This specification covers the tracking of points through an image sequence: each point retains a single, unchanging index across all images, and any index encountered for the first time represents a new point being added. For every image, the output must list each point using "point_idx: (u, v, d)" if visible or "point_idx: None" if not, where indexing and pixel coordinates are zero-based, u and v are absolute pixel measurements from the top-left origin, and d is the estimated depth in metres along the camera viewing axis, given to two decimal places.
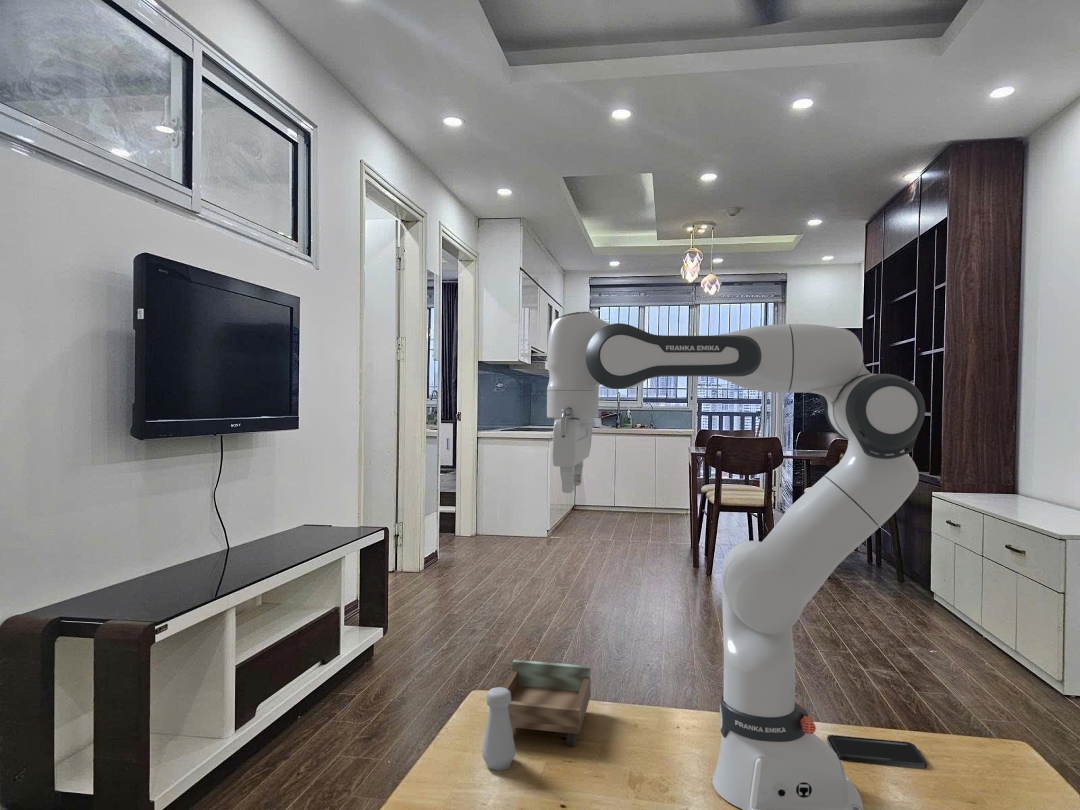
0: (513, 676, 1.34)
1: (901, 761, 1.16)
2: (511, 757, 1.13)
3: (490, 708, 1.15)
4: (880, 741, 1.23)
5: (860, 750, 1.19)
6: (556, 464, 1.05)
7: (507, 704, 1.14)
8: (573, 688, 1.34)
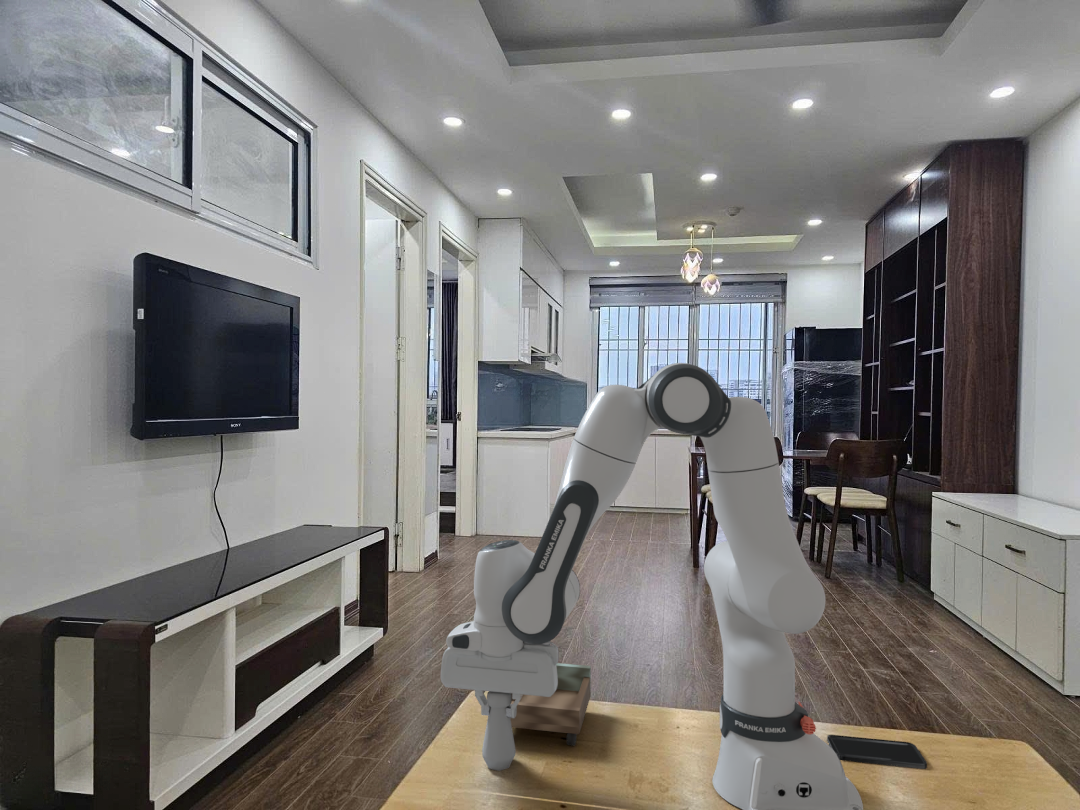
0: None
1: (901, 761, 1.16)
2: (511, 757, 1.13)
3: (490, 708, 1.14)
4: (880, 741, 1.23)
5: (860, 750, 1.19)
6: (552, 694, 1.12)
7: (507, 704, 1.14)
8: (573, 688, 1.34)
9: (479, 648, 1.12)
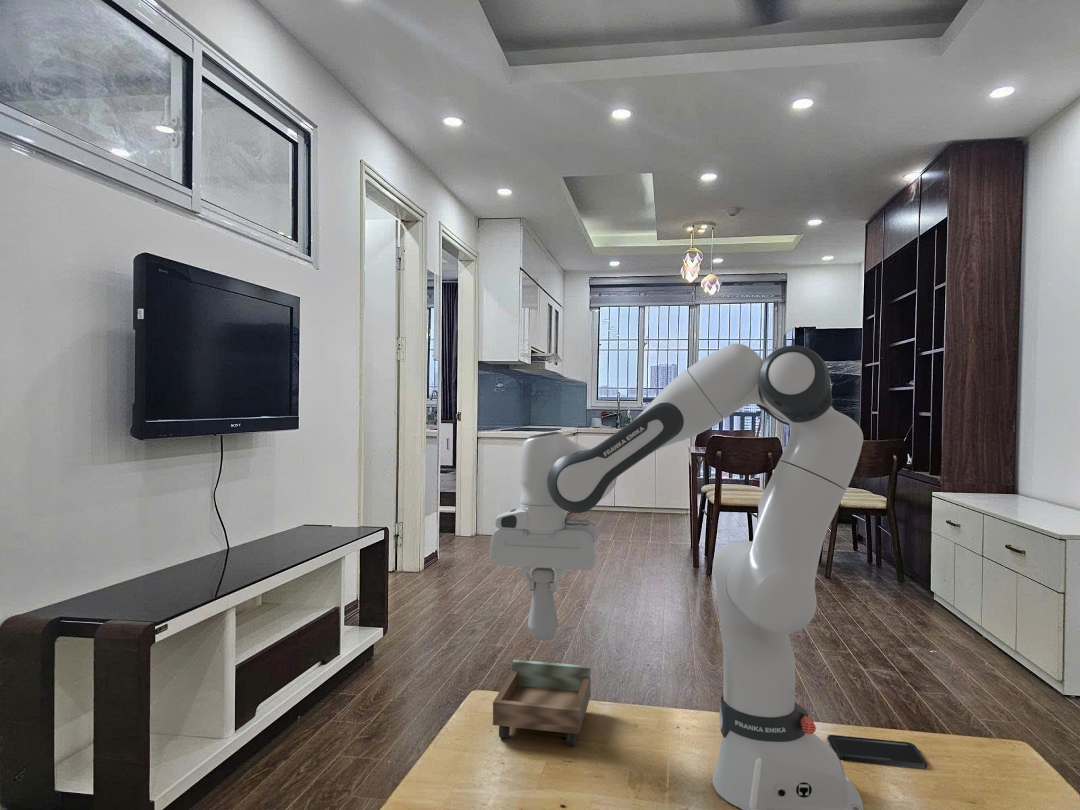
0: (513, 676, 1.34)
1: (901, 761, 1.16)
2: (555, 627, 1.25)
3: (535, 584, 1.26)
4: (880, 741, 1.23)
5: (860, 750, 1.19)
6: (592, 568, 1.24)
7: (551, 579, 1.25)
8: (573, 688, 1.34)
9: (526, 526, 1.23)
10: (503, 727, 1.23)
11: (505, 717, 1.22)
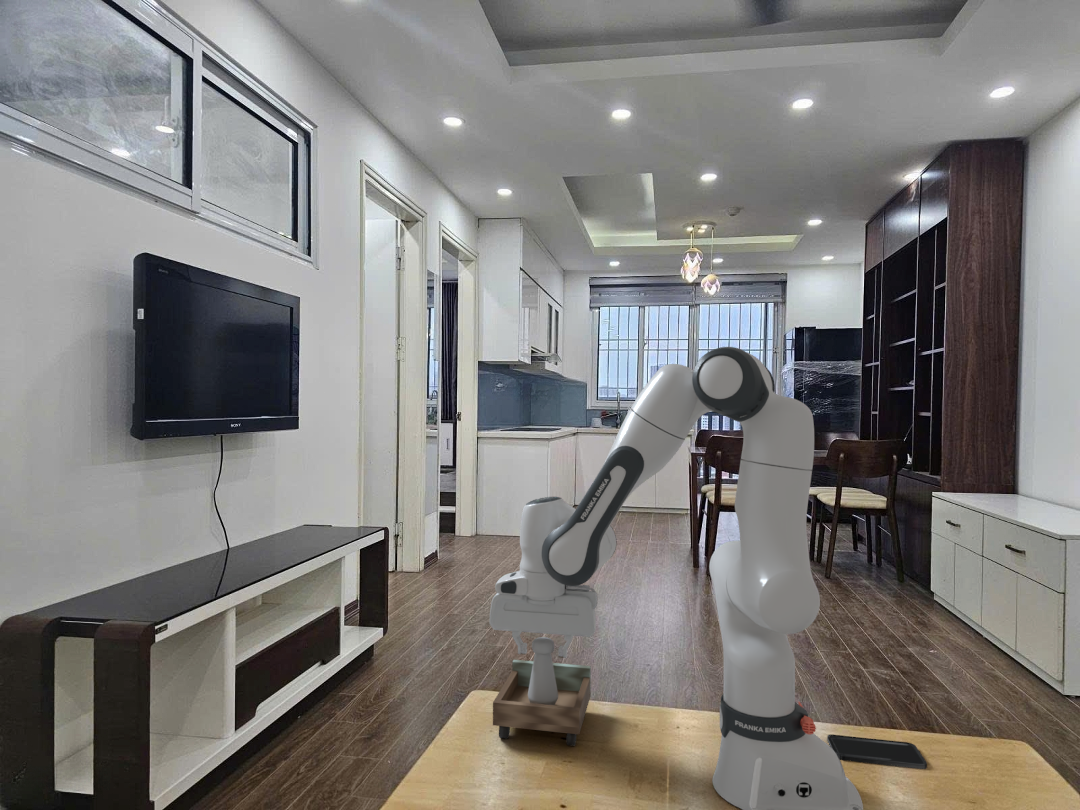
0: (513, 676, 1.34)
1: (901, 761, 1.16)
2: (555, 699, 1.25)
3: (535, 655, 1.26)
4: (880, 741, 1.23)
5: (860, 750, 1.19)
6: (592, 634, 1.24)
7: (551, 651, 1.26)
8: (573, 688, 1.34)
9: (526, 593, 1.23)
10: (503, 727, 1.23)
11: (505, 718, 1.22)
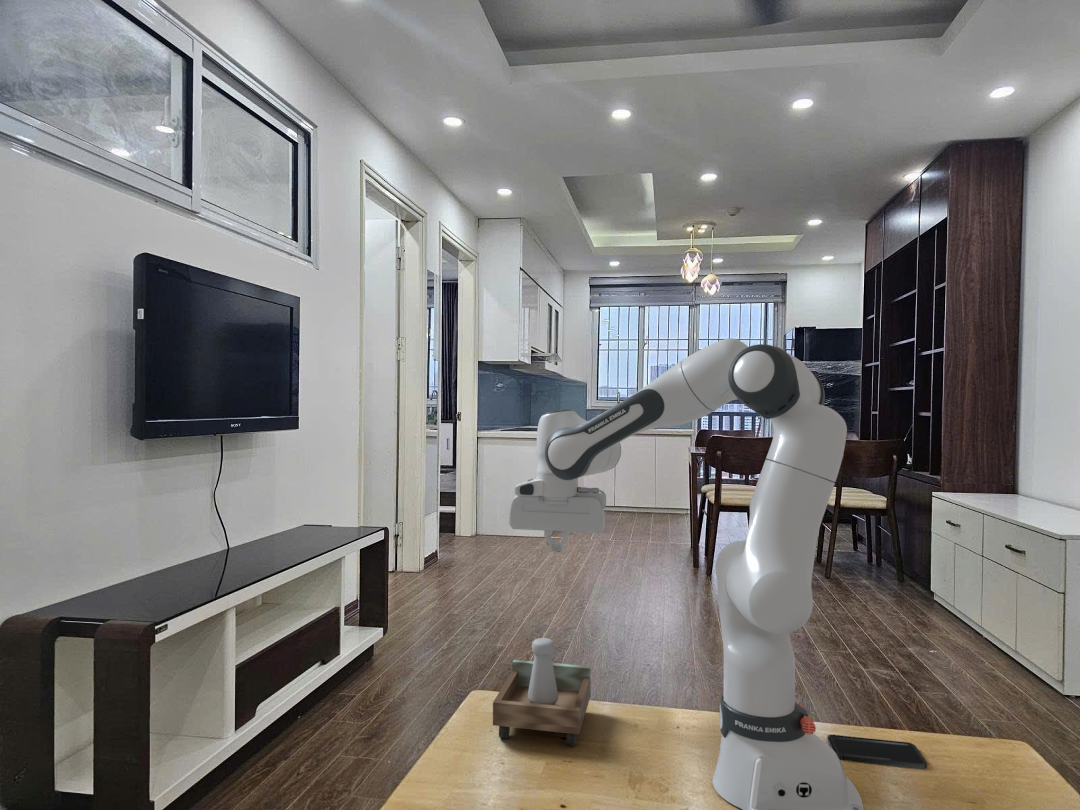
0: (513, 676, 1.34)
1: (901, 761, 1.16)
2: (555, 700, 1.25)
3: (535, 656, 1.26)
4: (880, 741, 1.23)
5: (860, 750, 1.19)
6: (601, 531, 1.38)
7: (551, 652, 1.25)
8: (573, 688, 1.34)
9: (542, 493, 1.38)
10: (503, 727, 1.23)
11: (505, 718, 1.22)
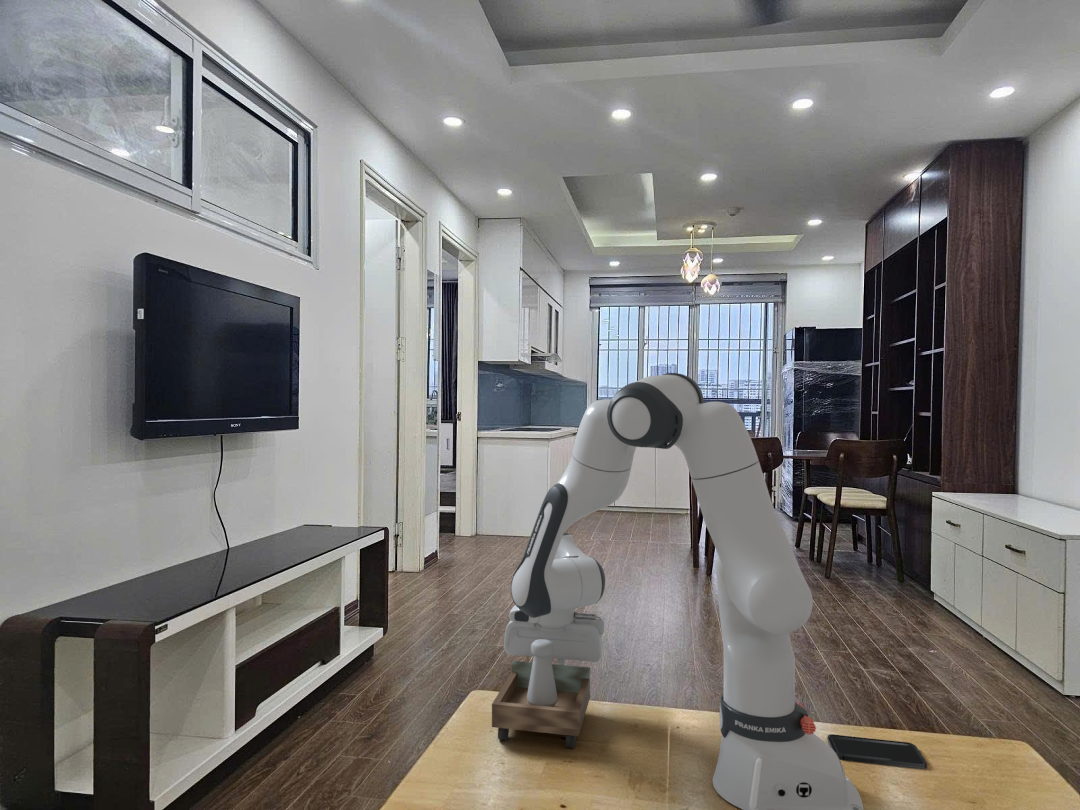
0: (512, 678, 1.33)
1: (901, 762, 1.16)
2: (554, 702, 1.24)
3: (535, 657, 1.25)
4: (881, 741, 1.23)
5: (860, 750, 1.20)
6: (599, 659, 1.34)
7: (550, 653, 1.25)
8: (572, 690, 1.34)
9: (537, 621, 1.33)
10: (502, 729, 1.22)
11: (504, 719, 1.21)
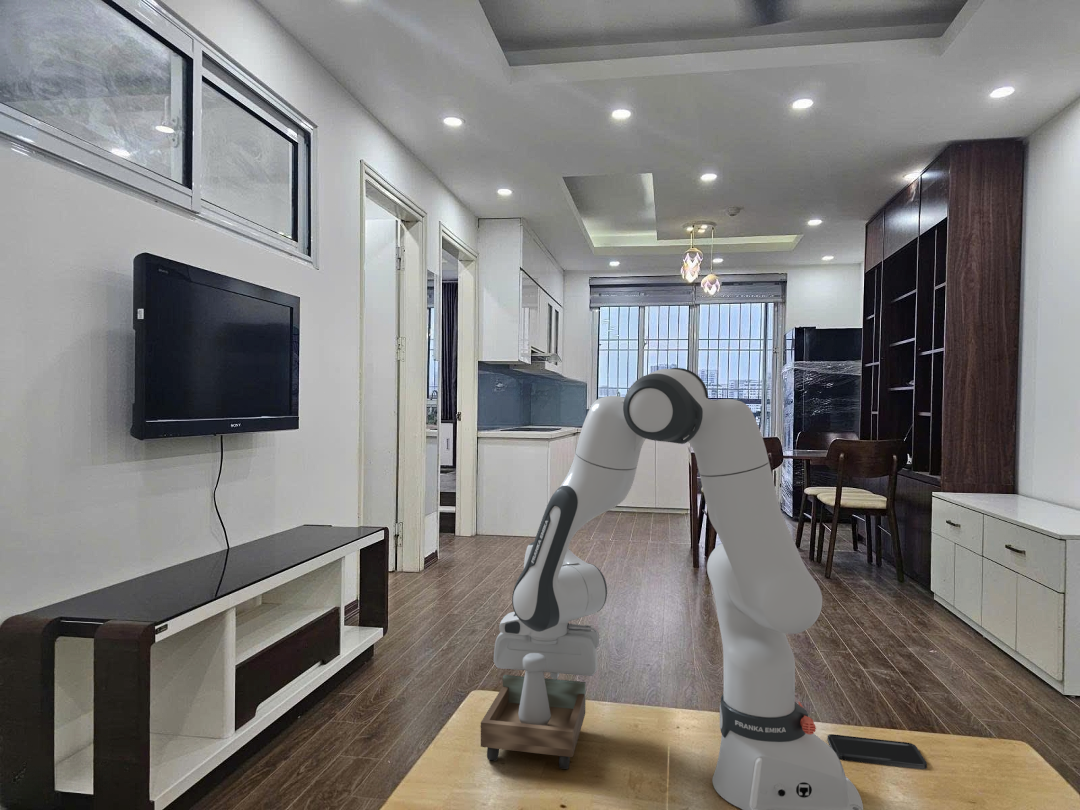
0: (503, 693, 1.26)
1: (901, 762, 1.16)
2: (547, 719, 1.17)
3: (526, 672, 1.18)
4: (881, 741, 1.23)
5: (859, 750, 1.20)
6: (594, 673, 1.27)
7: (543, 668, 1.18)
8: (567, 705, 1.27)
9: (529, 633, 1.26)
10: (492, 749, 1.15)
11: (494, 739, 1.14)
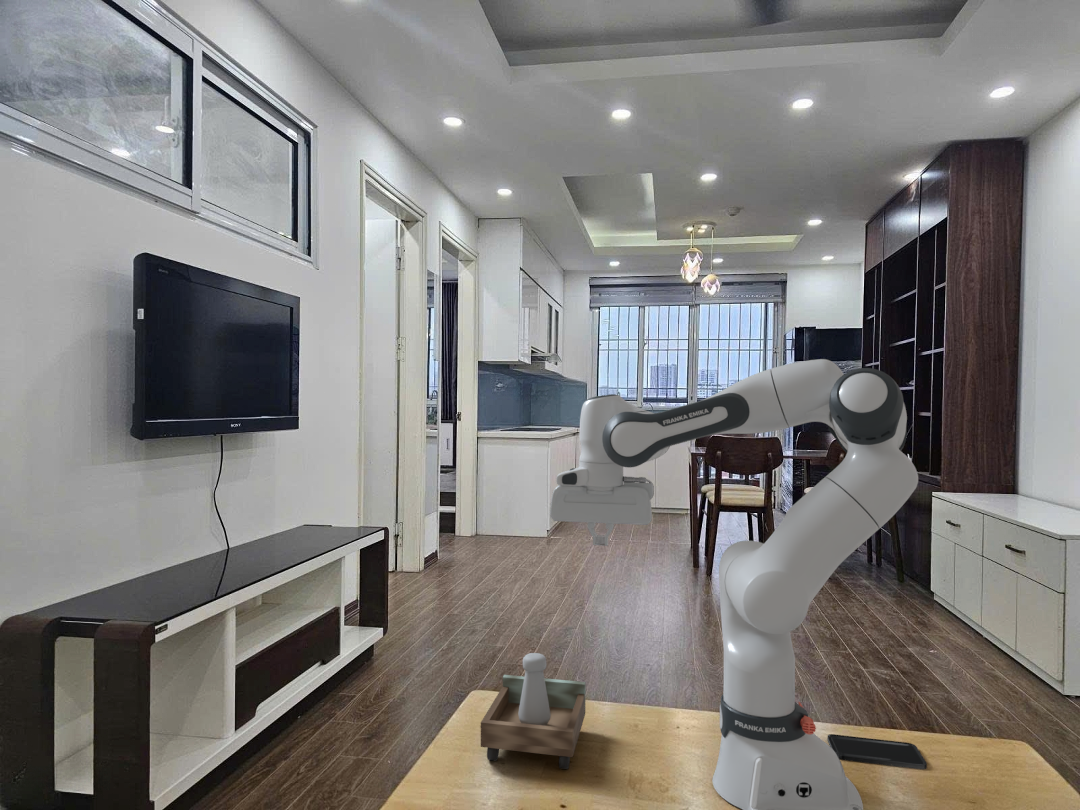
0: (503, 693, 1.26)
1: (901, 762, 1.16)
2: (547, 719, 1.17)
3: (526, 672, 1.18)
4: (881, 741, 1.23)
5: (859, 750, 1.20)
6: None
7: (543, 668, 1.18)
8: (567, 705, 1.27)
9: (586, 483, 1.30)
10: (492, 749, 1.15)
11: (494, 739, 1.14)
